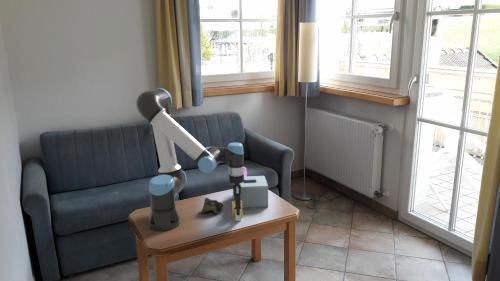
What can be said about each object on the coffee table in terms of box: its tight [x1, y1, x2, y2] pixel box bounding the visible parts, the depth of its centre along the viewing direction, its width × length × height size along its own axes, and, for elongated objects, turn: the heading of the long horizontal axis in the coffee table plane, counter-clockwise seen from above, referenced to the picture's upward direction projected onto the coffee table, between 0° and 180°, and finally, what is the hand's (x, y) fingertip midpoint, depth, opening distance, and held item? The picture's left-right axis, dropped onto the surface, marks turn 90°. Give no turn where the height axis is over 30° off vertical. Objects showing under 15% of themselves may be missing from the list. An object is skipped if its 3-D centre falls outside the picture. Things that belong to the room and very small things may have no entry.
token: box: [231, 200, 243, 219], centre depth 207 cm, size 5×3×8 cm, turn 95°
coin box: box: [232, 175, 269, 209], centre depth 224 cm, size 18×16×12 cm
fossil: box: [201, 197, 224, 216], centre depth 213 cm, size 11×9×10 cm
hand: (237, 216), depth 208 cm, fingers open, 9 cm apart
